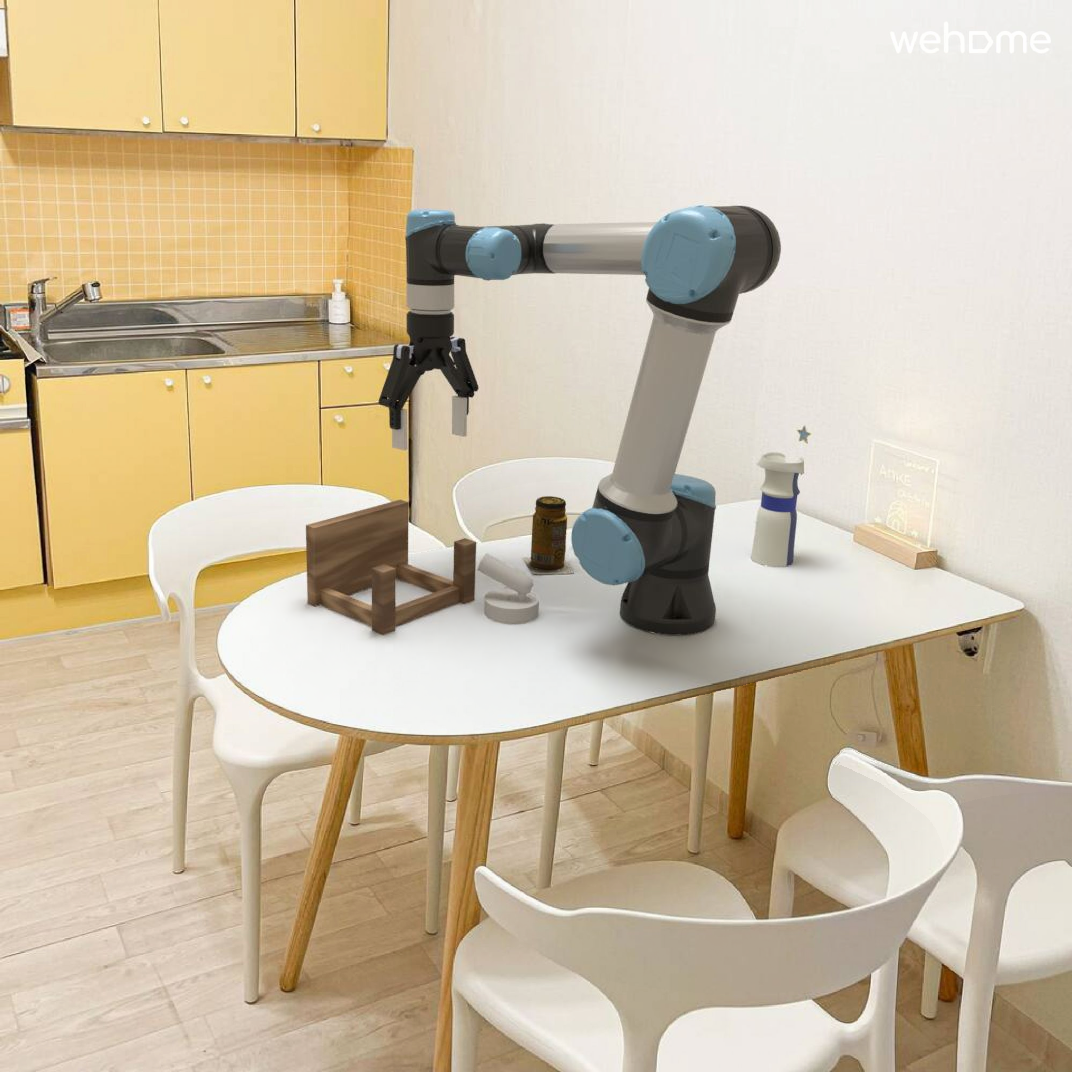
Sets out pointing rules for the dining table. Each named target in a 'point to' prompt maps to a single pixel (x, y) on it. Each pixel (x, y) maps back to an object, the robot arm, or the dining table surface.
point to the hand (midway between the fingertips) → (430, 441)
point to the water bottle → (777, 509)
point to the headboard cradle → (379, 568)
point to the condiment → (548, 537)
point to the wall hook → (509, 593)
